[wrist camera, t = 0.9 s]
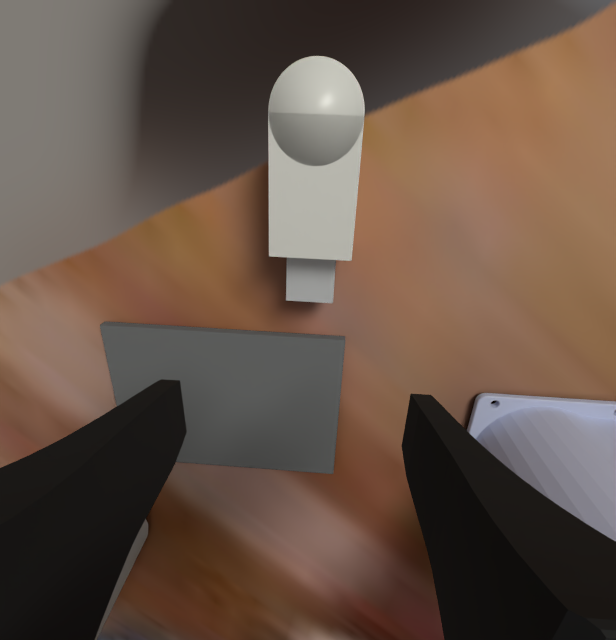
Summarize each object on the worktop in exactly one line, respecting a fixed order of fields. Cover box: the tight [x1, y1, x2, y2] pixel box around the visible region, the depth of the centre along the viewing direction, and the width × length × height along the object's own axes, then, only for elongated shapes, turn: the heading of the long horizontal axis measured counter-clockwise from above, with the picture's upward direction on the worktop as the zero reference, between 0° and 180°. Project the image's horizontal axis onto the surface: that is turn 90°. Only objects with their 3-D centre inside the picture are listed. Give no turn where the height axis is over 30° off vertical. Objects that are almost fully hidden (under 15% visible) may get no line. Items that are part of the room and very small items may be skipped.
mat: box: [100, 322, 345, 474], centre depth 23 cm, size 14×10×1 cm
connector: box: [268, 56, 365, 303], centre depth 16 cm, size 9×3×4 cm, turn 178°
